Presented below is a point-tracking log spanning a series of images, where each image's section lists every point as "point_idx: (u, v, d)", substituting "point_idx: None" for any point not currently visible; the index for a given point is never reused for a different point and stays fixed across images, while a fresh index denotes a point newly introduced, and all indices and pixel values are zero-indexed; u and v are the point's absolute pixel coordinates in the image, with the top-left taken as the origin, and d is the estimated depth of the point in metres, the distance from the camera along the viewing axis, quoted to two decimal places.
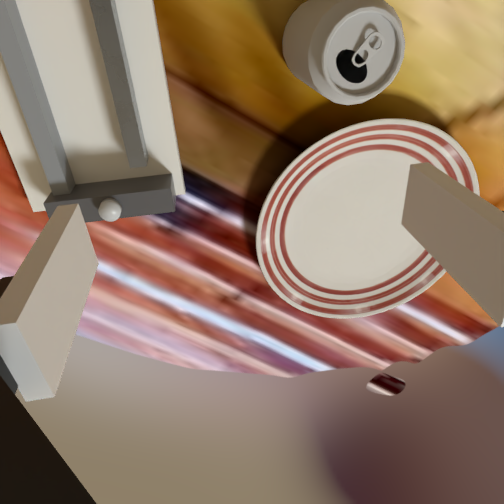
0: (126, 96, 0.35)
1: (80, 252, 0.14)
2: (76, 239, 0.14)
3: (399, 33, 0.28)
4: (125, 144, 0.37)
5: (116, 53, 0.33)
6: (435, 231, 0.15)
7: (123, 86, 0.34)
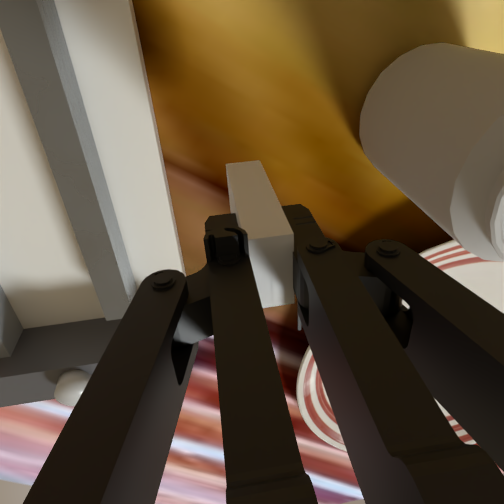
0: (95, 221, 0.20)
1: None
2: None
3: None
4: (97, 289, 0.22)
5: (74, 156, 0.18)
6: None
7: (89, 208, 0.19)
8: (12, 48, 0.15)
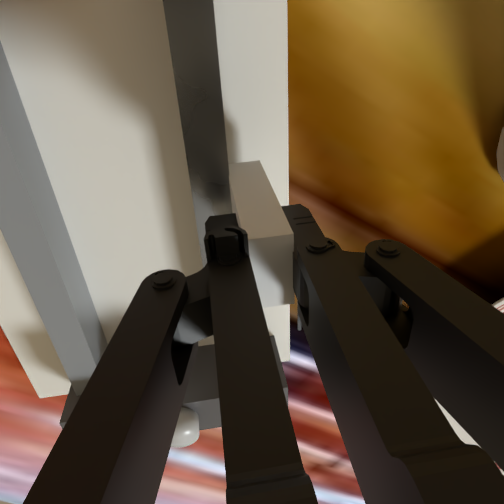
0: None
1: None
2: None
3: None
4: None
5: (219, 176, 0.16)
6: None
7: None
8: (177, 55, 0.13)
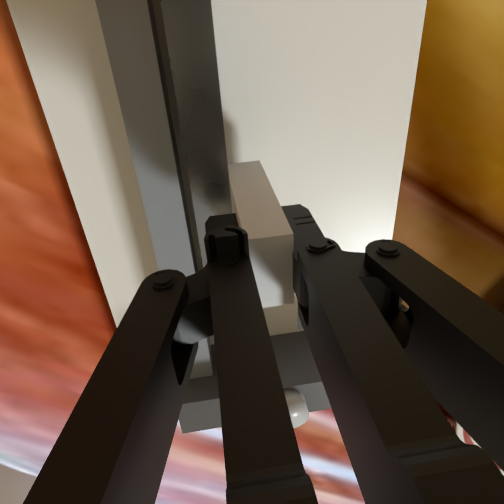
0: None
1: None
2: None
3: None
4: None
5: (218, 176, 0.16)
6: None
7: None
8: (175, 55, 0.13)
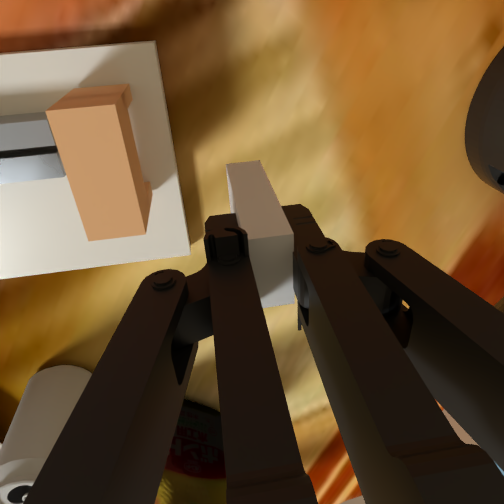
0: None
1: None
2: None
3: None
4: None
5: None
6: None
7: None
8: (14, 160, 0.25)
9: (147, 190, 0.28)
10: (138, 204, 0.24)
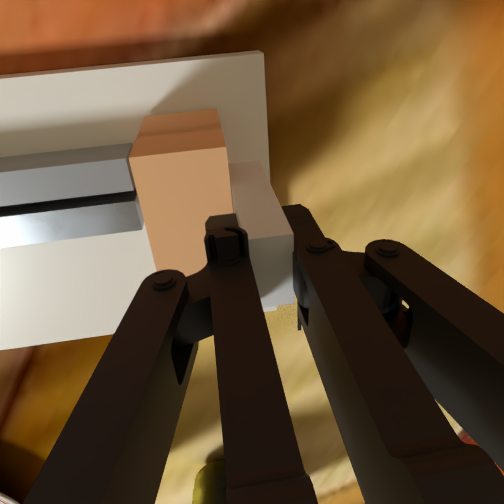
0: None
1: None
2: None
3: None
4: None
5: None
6: None
7: None
8: (80, 211, 0.19)
9: None
10: None
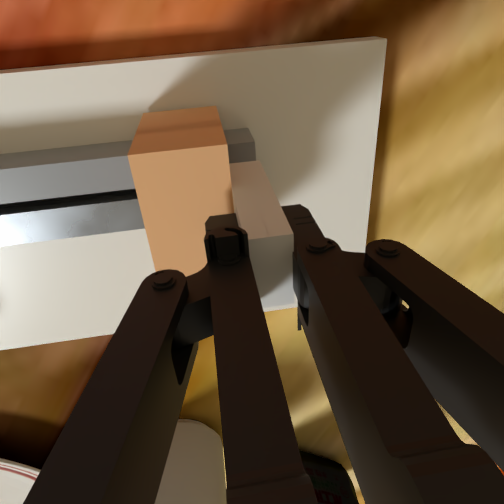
0: (42, 233, 0.19)
1: None
2: None
3: None
4: None
5: (115, 224, 0.19)
6: None
7: (58, 229, 0.19)
8: None
9: None
10: None
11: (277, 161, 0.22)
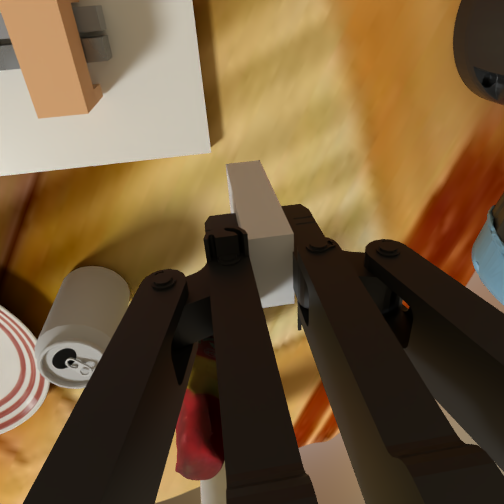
0: None
1: None
2: None
3: None
4: None
5: (9, 63, 0.30)
6: None
7: None
8: None
9: (95, 87, 0.32)
10: (79, 83, 0.28)
11: (126, 32, 0.32)
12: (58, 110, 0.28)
